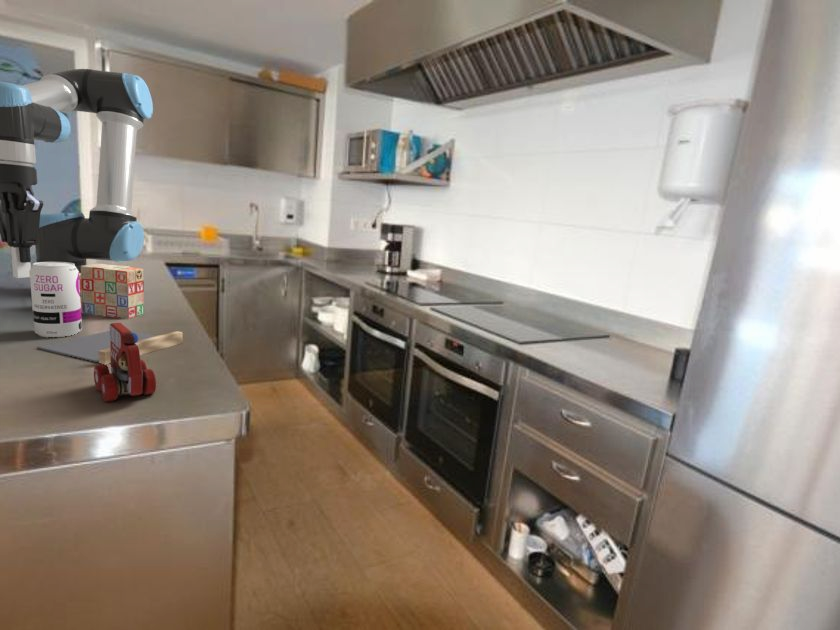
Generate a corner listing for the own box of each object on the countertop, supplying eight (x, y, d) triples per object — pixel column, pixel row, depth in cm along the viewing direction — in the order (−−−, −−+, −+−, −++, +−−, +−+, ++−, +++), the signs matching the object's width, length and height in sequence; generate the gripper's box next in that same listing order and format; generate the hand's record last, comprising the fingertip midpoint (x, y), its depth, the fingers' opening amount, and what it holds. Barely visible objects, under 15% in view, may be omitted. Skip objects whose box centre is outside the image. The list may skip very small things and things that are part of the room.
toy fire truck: (109, 410, 71) (106, 341, 69) (91, 383, 80) (88, 322, 77) (161, 400, 76) (159, 336, 74) (139, 376, 84) (137, 318, 82)
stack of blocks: (48, 310, 122) (45, 262, 119) (68, 306, 128) (65, 259, 126) (129, 319, 120) (127, 270, 118) (145, 314, 126) (143, 267, 124)
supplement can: (77, 327, 110) (73, 261, 107) (85, 335, 104) (81, 266, 101) (32, 331, 104) (26, 261, 101) (38, 340, 98) (32, 267, 95)
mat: (121, 330, 110) (121, 328, 110) (176, 341, 105) (176, 339, 105) (37, 348, 94) (37, 346, 94) (98, 363, 89) (98, 361, 89)
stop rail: (177, 341, 105) (176, 331, 105) (182, 343, 105) (182, 332, 104) (99, 363, 89) (98, 350, 88) (105, 364, 88) (104, 352, 88)
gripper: (-30, 160, 99) (-18, 274, 103) (14, 163, 95) (24, 282, 99) (11, 164, 106) (20, 271, 110) (54, 167, 102) (61, 279, 106)
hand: (22, 276), depth 105 cm, fingers closed
